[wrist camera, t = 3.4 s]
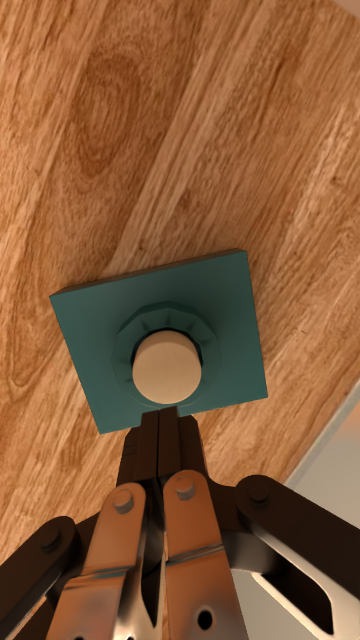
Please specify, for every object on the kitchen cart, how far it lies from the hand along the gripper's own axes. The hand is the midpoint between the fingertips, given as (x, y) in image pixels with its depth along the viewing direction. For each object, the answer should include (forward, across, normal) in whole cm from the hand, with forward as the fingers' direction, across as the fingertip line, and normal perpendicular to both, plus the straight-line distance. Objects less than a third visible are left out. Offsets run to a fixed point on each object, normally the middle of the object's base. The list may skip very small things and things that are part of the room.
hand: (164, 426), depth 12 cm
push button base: (+11, 0, 0) cm, 11 cm away
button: (+7, 0, 0) cm, 7 cm away
